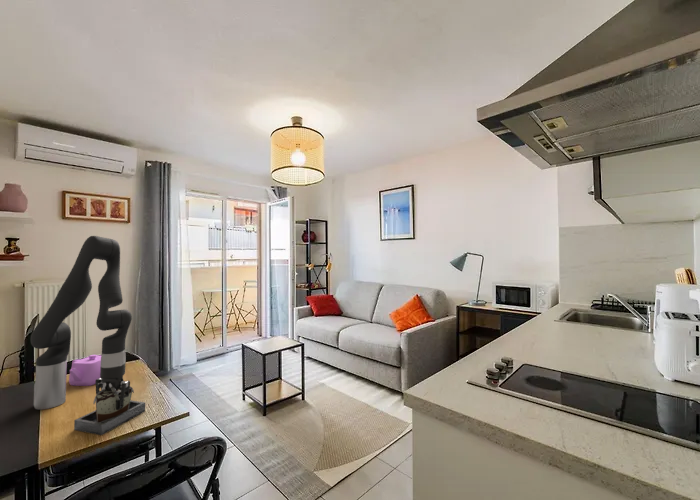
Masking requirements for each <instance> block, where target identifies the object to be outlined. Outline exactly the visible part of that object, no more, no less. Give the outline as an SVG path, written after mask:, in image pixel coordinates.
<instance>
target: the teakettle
mask: <svg viewBox="0 0 700 500" xmlns="http://www.w3.org/2000/svg"><path fill="white" fill-rule="evenodd" d="M101 356H102V354H100V355H99V354H91V355H88V356H86V357H84V358H80V359H78V358H77V359H73V360H72V362H71V368H70V369H69V377H68V383H69V385H70V386H79V387H81V386H82V387H84V386H85V387H89V386H95V385H96V379H99V378H100V368H101Z"/></svg>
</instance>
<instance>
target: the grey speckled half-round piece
mask: <svg viewBox="0 0 700 500" xmlns="http://www.w3.org/2000/svg"><path fill="white" fill-rule="evenodd" d="M119 390H120V388H119V389H118V390H116V391H119ZM102 391H103V390H101V389H100V392H98V393H97V395H96V394H95V396H94V399H93V402H92V403H93V405H95V410H96V417H97V422H99V423H101V422H104V421H107V420H110V419H112V418H114V417H116V416H118V415H119V414H121V413H123V412H125V411H127V410H128V409H129V405H130V400H131V398H132V395H133V394H134V392H135V391H134V389H133V387H132V386H130V390H129V396H128V397H125V398H124V406H123V408H121V409H119V410H116V400H117V399H116V396H115V395H113V393H112V392H111V391H105V392H102ZM125 393H126V392H125ZM125 393H124V394H125ZM120 395H121V393H119V396H120Z"/></svg>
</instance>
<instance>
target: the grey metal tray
mask: <svg viewBox="0 0 700 500" xmlns="http://www.w3.org/2000/svg"><path fill="white" fill-rule="evenodd" d="M144 412H146V402H144V401H138V400H130V405H129V409H128V410H127V411H125V412H123V413H121V414H119V415H118V416H116V417H114V418H112V419H110V420H107V421H104V422H101V423H99V422H97V417H96V409H95V410H93V411H90V412H89V413H87V414H85V415H82V416H81V417H78V418H76V419H74V421H73V422H74V424H73V425H74V427H73V428H74V429H73V430H74V431H78V432H82V433H89V434H93V435H96V436H97V435H98V436H103V435H105V434H107V433H108V432H111V431H112V430H114V429H116V428H118V427H119V426H122V425H123V424H125V423H127V422H128V421H130V420H132V419H134V418H135V417H136V418H137V416H139V415H142V414H143V413H144Z"/></svg>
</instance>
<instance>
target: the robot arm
mask: <svg viewBox="0 0 700 500" xmlns="http://www.w3.org/2000/svg"><path fill="white" fill-rule="evenodd" d="M94 260H100V261H105V262H106V266H107V268H106V271H105V272H104V274H103V275H102V277H101V279H100V280H99V282H98V286H97V292H98V298H99V309H98V313H97V317H96V326H97V329H99V330H100V331H102V332H104V331H112V330H116V331H115V333H112V334H110V335H107V336H105V337H103V338H102V340H101V341H102V342H101V355H102V356H101V368H100V378H99V379H96V384H95V396H96V395H97V393H98V392H100V391H101V390H103V391H102V392H105V391H111V392H112V393H113V395H115V396H116V399H117V400H116V410H119V409H121V408H123V406H124V398H125V397H128V396H129V390H130V387H131V381H130V380H126V381H124V376H125V374H126V362H127V361H126V360H127V359H126V358H127V357H126V356H127V354H126V338H127V334H128V332H129V328H130V326H131V323H132V319H133V318H132V313H131V312H130V311H129V310H128V309H117V310H116V309H115V310H109V309H112V308H115V307H118V306H120V305H122V303H123V294H122V293H123V292H122V288H121V281H120V275H121V273H120V272H121V246H120V243H119V242H118V240H115V239H114V238H113V239H112V238H108V237H104V236H98V235H91V236H90V235H89V237H87V238H86V239H85V241H84V242H83V244H82V246H81V248H80V251H79V252H78V254H77V257H76V259H75V262H74V264H73V266H72V268H71V270H70V272H69V273H68V275H67V277H66V279H65V280H64V282H63V283H62V286H61V287H60V289H59V291H58V292H57V294H56V296H55V298H54V300H53V302H52V303H51V305H50V306H49V308H48V310H47V311H46V313H45V314H44V315H43V317H42V318H41V319H40V321H39V322H38V323H37V325H36V326H35V327H34V329H33V331H32V333H31V334H30V344H31V346H32V347H33V348H35V349H38V350H41V349H42V350H43V349H46V350H45V351H44V352H43V353H42V354H41V355H39V356H37V358H36V361H35V382H34V385H33V407H34V409H35V410H47V409H51V408H56V407H58V406H60V405H62V404H64V403H66V398H67V393H66V392H67V371H68V370H67V369H68V368H67V367H68V364H67V363H68V356H69V354H70V351H71V341H72V340H71V338H72V331H71V327H70V326H69V324H67V323H66V322H64V321H65V320H66V319H67V318H68V317H69V316H71V315H72V314H73V313H74V312H75V311H77V310H78V309H79V308H80V307H81V306H82V305H83V304H84V303H85V301H86V300H87V298H88V296H89V295H90V293H91V291H92V289H93V285H92V284H93V283H92V279H91V275H90V270H89V269H90V266H91V264H92V262H93V261H94ZM119 388H120V390H119V391H116V390H118V389H119ZM125 392H126V393H125ZM119 393H121V395H120V396H119ZM124 393H125V394H124Z"/></svg>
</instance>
